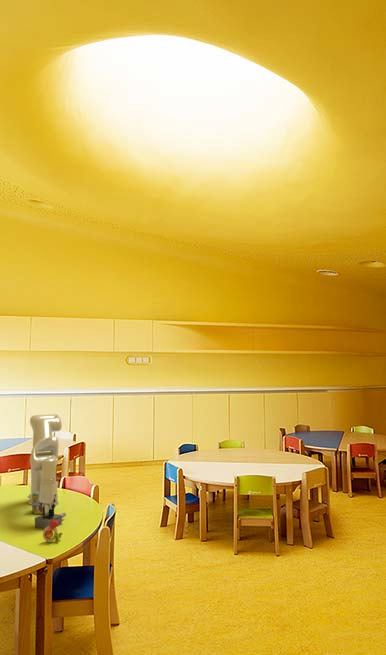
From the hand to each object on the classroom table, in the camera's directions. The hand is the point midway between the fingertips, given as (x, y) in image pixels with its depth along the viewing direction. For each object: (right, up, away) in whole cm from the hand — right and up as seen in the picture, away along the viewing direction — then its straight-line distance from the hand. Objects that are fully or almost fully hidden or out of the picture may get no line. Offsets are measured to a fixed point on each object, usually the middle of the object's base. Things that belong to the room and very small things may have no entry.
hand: (48, 515), depth 249 cm
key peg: (0, -2, 0) cm, 2 cm away
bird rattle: (+10, -4, -24) cm, 26 cm away
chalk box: (-11, -8, +24) cm, 28 cm away
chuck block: (+2, -6, +2) cm, 7 cm away
